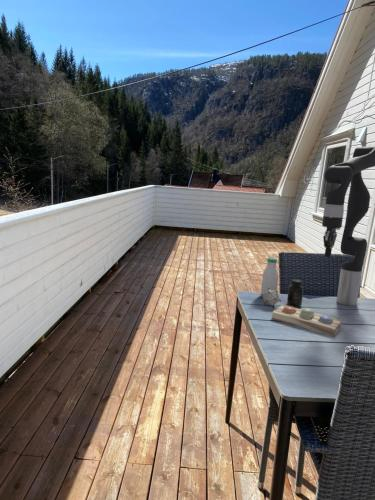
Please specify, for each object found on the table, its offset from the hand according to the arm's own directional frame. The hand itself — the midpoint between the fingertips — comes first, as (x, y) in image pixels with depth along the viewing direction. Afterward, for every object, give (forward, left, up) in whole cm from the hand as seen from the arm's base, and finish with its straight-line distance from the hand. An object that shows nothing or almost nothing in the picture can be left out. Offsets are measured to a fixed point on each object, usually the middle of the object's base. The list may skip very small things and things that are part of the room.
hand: (327, 256), depth 143 cm
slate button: (+11, +5, -26) cm, 28 cm away
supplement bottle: (-8, -14, -27) cm, 32 cm away
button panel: (+11, -3, -27) cm, 29 cm away
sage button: (+11, -3, -25) cm, 27 cm away
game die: (+2, -22, -27) cm, 35 cm away
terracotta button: (+11, -10, -26) cm, 30 cm away
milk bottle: (-10, -28, -27) cm, 40 cm away
